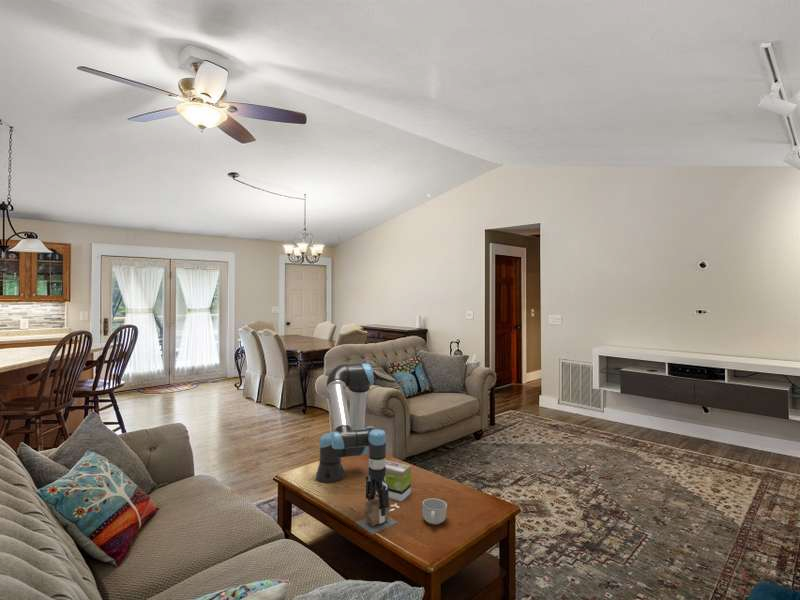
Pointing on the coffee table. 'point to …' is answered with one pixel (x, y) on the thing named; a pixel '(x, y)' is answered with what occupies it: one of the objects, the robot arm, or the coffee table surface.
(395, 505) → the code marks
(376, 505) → the walnut block
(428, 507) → the teacup
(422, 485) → the coffee table surface
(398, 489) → the tea box
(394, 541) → the coffee table surface
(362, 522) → the coaster
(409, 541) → the coffee table surface
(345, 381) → the robot arm
